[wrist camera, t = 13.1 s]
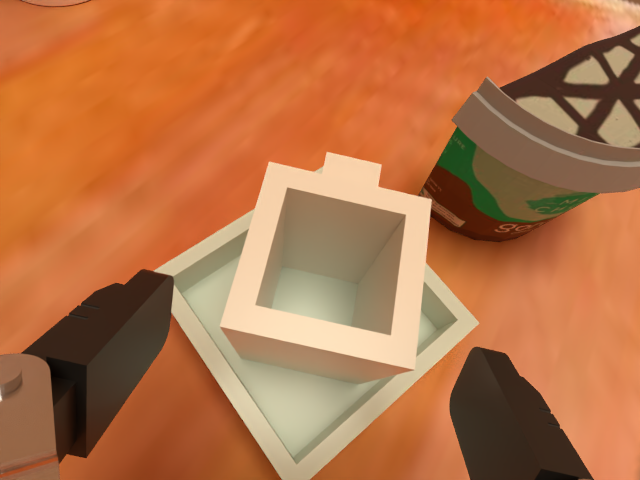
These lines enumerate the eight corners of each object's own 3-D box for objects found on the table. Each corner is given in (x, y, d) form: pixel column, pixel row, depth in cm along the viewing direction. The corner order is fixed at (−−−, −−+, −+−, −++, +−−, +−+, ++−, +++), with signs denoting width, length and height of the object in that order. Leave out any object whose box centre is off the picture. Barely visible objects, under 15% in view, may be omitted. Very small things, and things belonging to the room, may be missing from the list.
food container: (458, 300, 22) (596, 221, 12) (395, 209, 23) (474, 81, 14) (608, 207, 25) (801, 91, 16) (543, 134, 27) (684, -8, 18)
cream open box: (240, 358, 18) (219, 326, 11) (276, 228, 21) (277, 133, 14) (358, 384, 19) (415, 370, 11) (378, 251, 21) (434, 169, 14)
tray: (165, 294, 20) (146, 275, 17) (326, 190, 23) (334, 159, 20) (289, 480, 17) (292, 495, 14) (450, 334, 21) (479, 323, 18)
